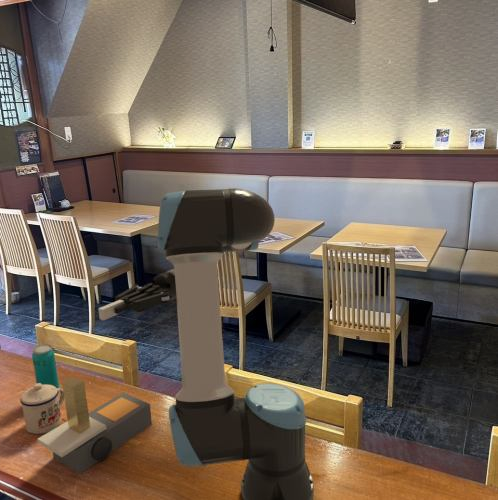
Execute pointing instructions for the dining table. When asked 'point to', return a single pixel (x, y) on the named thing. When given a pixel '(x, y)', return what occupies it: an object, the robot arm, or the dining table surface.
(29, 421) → the teacup with lid
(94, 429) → the sliding cover
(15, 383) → the dining table surface
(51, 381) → the beverage can
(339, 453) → the dining table surface
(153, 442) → the dining table surface
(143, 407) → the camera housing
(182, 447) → the robot arm
